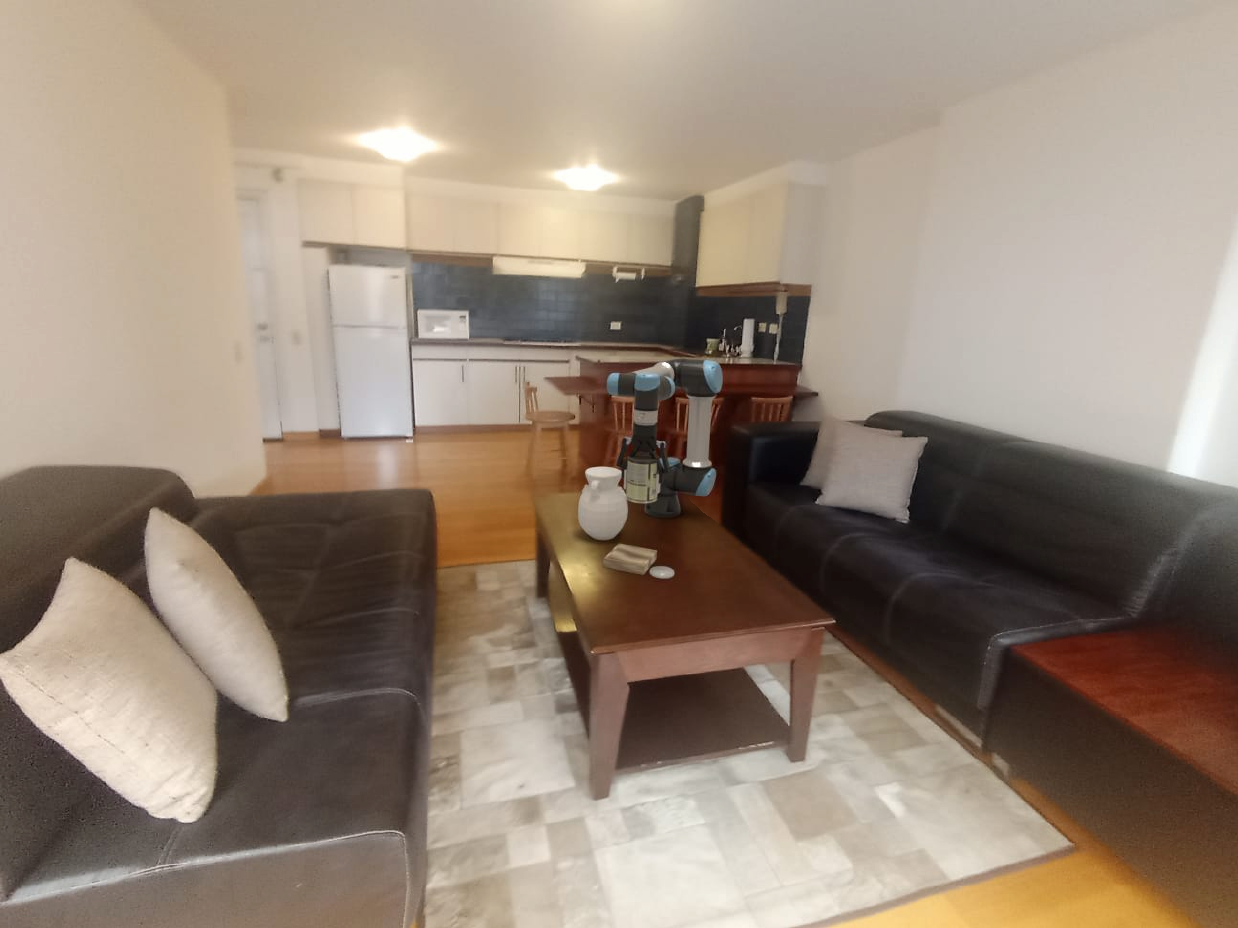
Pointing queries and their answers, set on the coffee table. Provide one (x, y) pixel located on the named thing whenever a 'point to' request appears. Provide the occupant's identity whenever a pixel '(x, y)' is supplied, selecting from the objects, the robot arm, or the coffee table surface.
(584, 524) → the pitcher
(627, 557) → the folded beige cloth
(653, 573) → the coaster
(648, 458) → the coffee can
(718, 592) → the coffee table surface
